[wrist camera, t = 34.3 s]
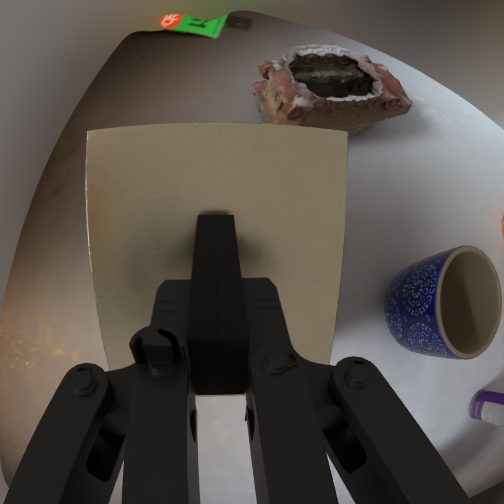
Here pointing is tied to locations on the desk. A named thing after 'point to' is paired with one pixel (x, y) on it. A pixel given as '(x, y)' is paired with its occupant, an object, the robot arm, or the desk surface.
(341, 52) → the broken brick
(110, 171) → the lid
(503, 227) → the potted cactus
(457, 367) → the desk surface
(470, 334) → the planter
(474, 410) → the container
